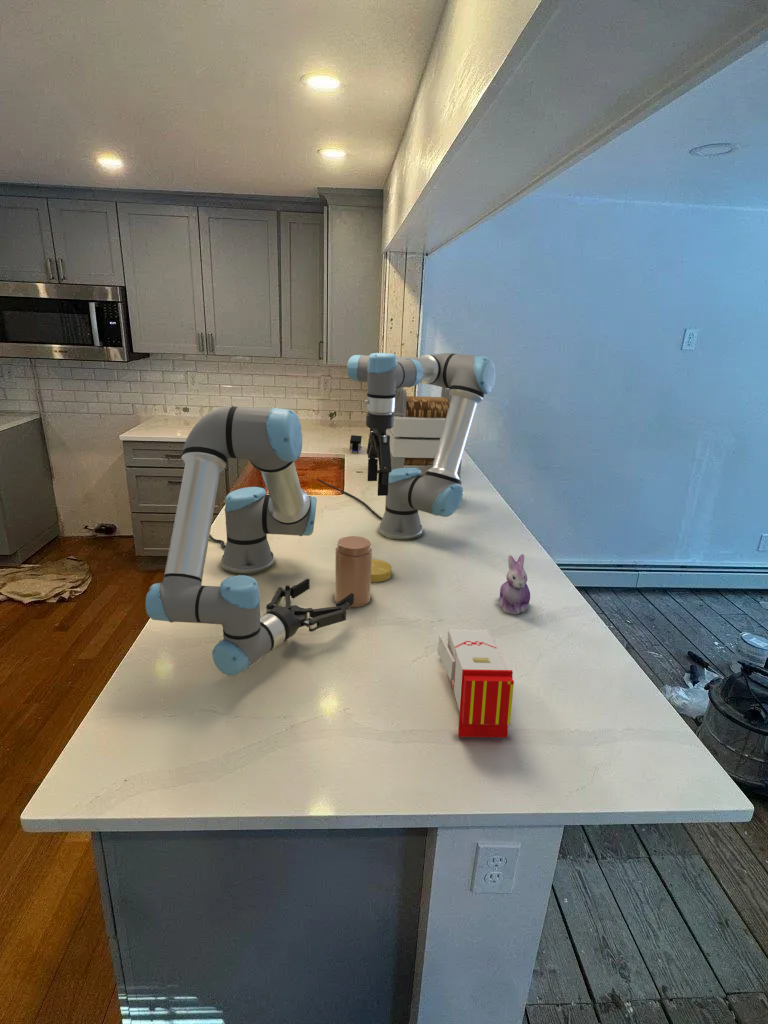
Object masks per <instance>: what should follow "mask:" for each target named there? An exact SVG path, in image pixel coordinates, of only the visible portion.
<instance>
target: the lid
mask: <svg viewBox="0 0 768 1024" xmlns="http://www.w3.org/2000/svg"><path fill="white" fill-rule="evenodd" d="M392 571H393V570H392V566H391V564H390V563H389V562H387V561H384V560H382V559H373V558H372V563H371V583H380V582H385V581H387V580H389V579H390V578H391V576H392Z"/></svg>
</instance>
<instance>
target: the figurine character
mask: <svg viewBox="0 0 768 1024" xmlns="http://www.w3.org/2000/svg"><path fill="white" fill-rule="evenodd" d="M362 439H363V436H362V435H353V434H351V435H350V440H349V451H351V454H353V453H357V454H359V451H361V449H362V448H363V446H362Z"/></svg>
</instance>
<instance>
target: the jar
mask: <svg viewBox="0 0 768 1024" xmlns="http://www.w3.org/2000/svg"><path fill="white" fill-rule="evenodd" d="M371 545H372V544H371V540H369V539H368V538H366V537H363V536H358V535H349V536H348V535H347V536H344V537H341V538H339V539H338V540H337V546H336V547H335V554H334V555H335V558H334V560H335V561H334V563H335V564H334V567H335V568H334V601H335V602H336V604H337V603H338V602H339V601H341V600H342V599H344V598H345V597H346V596H348V595H349V594H351V593H353V594H354V604H352V605H351V606H350V607H349V608H359V607H363V606H365V605H367V604H369V602H370V601H371V589H372V588H371V586H372V585H371V584H372V582H371V563H372V559H373V549H372V548H371Z"/></svg>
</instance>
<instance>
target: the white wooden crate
mask: <svg viewBox="0 0 768 1024" xmlns="http://www.w3.org/2000/svg"><path fill="white" fill-rule="evenodd" d="M440 393H441V394H440V396H415V395H414V396H413V395H412V396H411V395H407V394H408V393H407V390H406V389H404V388H396V389H395V411H394V412H393V415H394V426H393V428H391V429H387V430H386V435H390V457H391V469H392V470H394V469H398V468H405V466H406V467H407V466H411V467H412V466H413V467H415V466H416V467H417V466H418V467H431V466H432V465H433V462H434V458H435V455H436V451H437V448H438V444H439V441H440V437H441V434H442V430H443V427H444V423H445V420H446V416H447V412H448V409H449V405H450V402H451V398H452V397H451V395H450V393H449V388H444V387H441V392H440ZM462 458H463V457H462ZM462 458H461V462H460V465H459V469H458V472H457V475H458V477H459V478H460V479H461V472H462V461H463V460H462Z"/></svg>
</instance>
